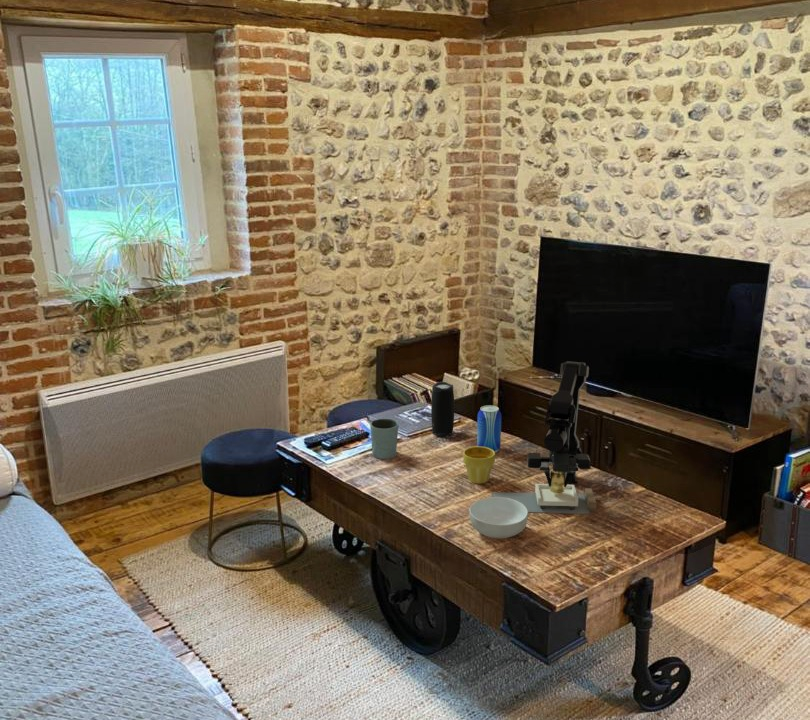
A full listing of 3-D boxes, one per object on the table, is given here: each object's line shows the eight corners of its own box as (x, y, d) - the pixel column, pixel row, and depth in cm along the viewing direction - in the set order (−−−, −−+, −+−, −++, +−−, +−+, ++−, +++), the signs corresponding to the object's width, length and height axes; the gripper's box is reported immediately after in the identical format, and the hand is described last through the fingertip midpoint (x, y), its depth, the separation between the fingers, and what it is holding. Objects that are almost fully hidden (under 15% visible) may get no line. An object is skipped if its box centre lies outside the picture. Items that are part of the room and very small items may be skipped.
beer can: (501, 454, 285) (502, 412, 280) (477, 454, 285) (478, 412, 280) (499, 445, 293) (500, 404, 288) (476, 445, 293) (476, 404, 288)
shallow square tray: (535, 494, 253) (535, 483, 252) (573, 495, 253) (574, 484, 251) (537, 509, 244) (538, 498, 243) (577, 510, 243) (578, 499, 242)
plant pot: (479, 489, 258) (479, 461, 255) (456, 479, 266) (456, 451, 263) (500, 480, 265) (501, 452, 262) (478, 470, 272) (478, 443, 269)
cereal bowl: (458, 524, 236) (459, 502, 234) (508, 513, 242) (508, 492, 240) (486, 551, 221) (487, 528, 219) (538, 539, 227) (539, 517, 225)
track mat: (491, 492, 256) (491, 492, 256) (583, 494, 254) (583, 494, 254) (493, 511, 243) (493, 510, 243) (589, 513, 241) (589, 513, 241)
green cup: (382, 446, 293) (381, 416, 289) (404, 453, 287) (404, 421, 283) (364, 456, 285) (364, 424, 281) (387, 462, 279) (387, 430, 276)
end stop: (584, 496, 252) (584, 488, 252) (590, 497, 252) (591, 488, 251) (589, 511, 243) (589, 502, 242) (595, 511, 243) (596, 502, 242)
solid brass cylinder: (549, 486, 249) (549, 469, 248) (563, 487, 249) (564, 469, 247) (550, 493, 245) (551, 475, 243) (565, 493, 245) (566, 475, 243)
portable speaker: (433, 439, 299) (433, 389, 294) (429, 429, 308) (429, 381, 303) (456, 437, 300) (456, 388, 295) (451, 428, 309) (451, 380, 304)
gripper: (530, 449, 235) (528, 497, 240) (594, 450, 234) (591, 499, 238) (527, 434, 246) (525, 481, 250) (589, 436, 244) (586, 482, 249)
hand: (557, 486), depth 247 cm, fingers closed on solid brass cylinder, 4 cm apart
